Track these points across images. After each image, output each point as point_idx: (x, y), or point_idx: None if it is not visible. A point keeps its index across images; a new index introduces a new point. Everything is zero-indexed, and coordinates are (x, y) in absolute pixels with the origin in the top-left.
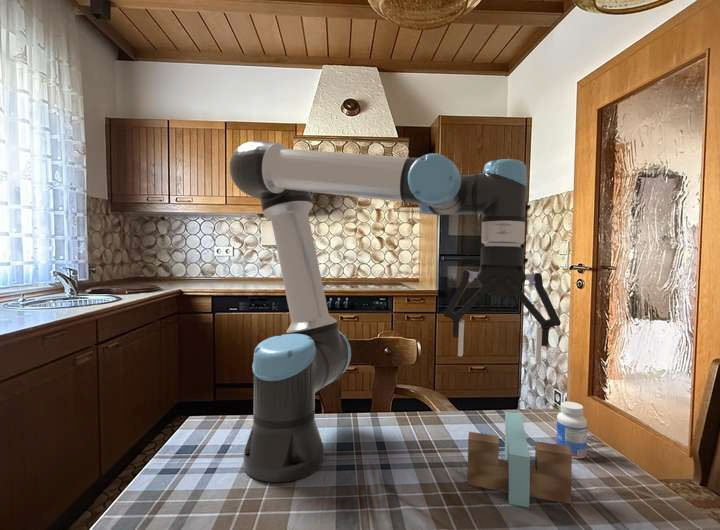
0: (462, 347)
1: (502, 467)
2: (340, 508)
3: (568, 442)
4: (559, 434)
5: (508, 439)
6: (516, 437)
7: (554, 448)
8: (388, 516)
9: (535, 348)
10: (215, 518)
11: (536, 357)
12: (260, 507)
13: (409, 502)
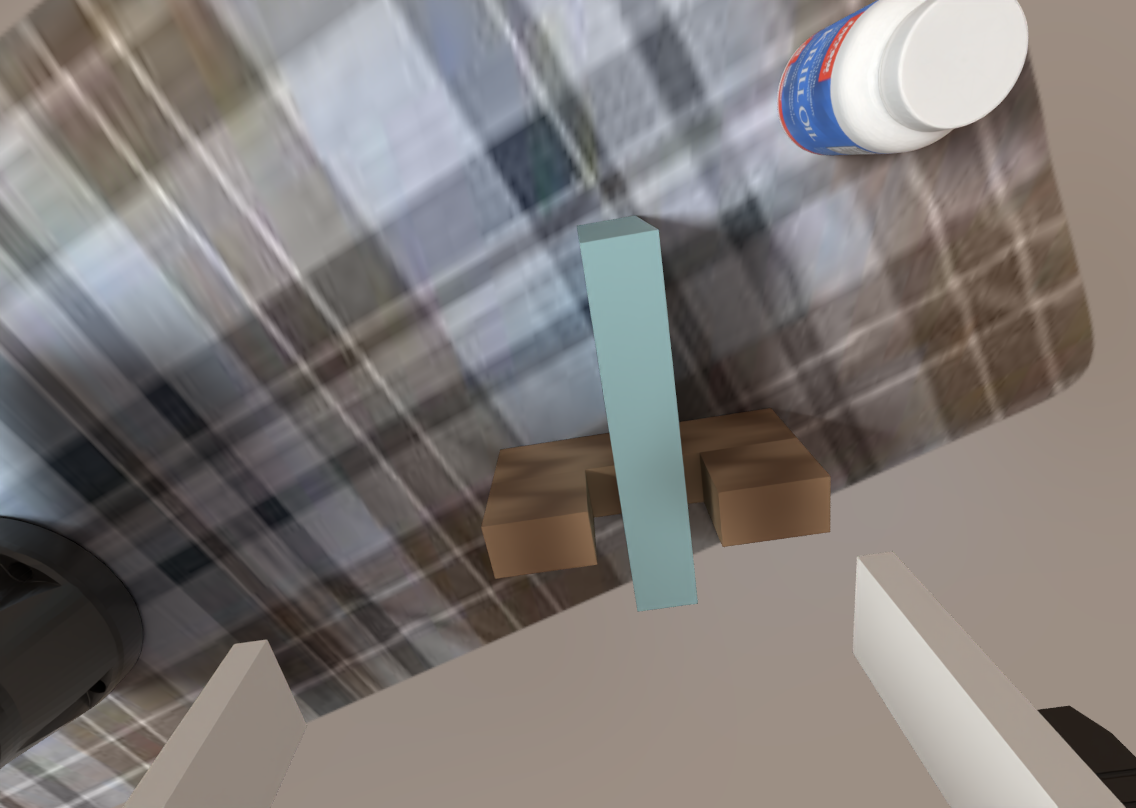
0: (265, 775)
1: (605, 515)
2: (296, 684)
3: (837, 153)
4: (812, 125)
5: (625, 522)
6: (651, 493)
7: (779, 517)
8: (395, 664)
9: (927, 678)
10: (130, 787)
11: (885, 703)
12: (164, 741)
13: (411, 612)
